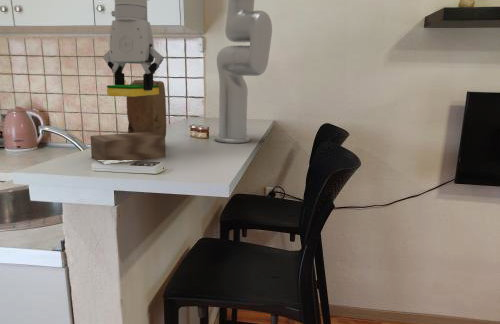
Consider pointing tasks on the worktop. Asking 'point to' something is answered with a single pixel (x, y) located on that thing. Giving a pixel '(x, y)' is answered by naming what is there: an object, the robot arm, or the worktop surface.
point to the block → (147, 111)
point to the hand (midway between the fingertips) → (134, 89)
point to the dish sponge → (131, 90)
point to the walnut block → (128, 146)
